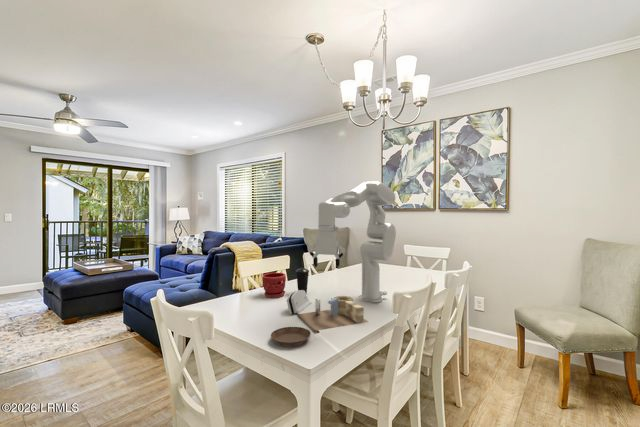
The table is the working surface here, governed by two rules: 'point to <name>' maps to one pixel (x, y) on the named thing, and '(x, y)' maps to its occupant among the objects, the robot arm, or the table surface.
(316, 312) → the peg
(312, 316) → the board
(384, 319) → the table surface
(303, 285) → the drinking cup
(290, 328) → the saucer
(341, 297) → the link
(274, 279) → the plant pot
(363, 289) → the robot arm
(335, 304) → the bracket
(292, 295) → the white rounded block
